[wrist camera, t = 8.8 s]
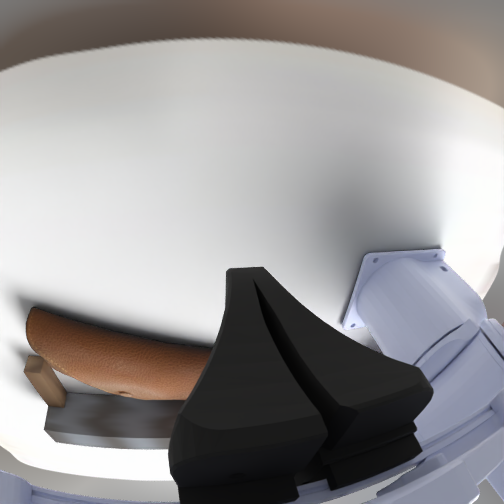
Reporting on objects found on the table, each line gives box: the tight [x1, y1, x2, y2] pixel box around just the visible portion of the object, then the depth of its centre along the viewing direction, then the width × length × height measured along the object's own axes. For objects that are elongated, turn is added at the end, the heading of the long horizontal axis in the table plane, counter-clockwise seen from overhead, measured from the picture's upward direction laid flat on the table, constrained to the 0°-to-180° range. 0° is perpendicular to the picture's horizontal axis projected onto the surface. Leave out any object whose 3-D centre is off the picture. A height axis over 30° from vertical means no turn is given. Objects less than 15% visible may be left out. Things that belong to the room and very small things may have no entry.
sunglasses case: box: [26, 307, 213, 400], centre depth 23 cm, size 18×7×7 cm
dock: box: [24, 356, 186, 449], centre depth 25 cm, size 27×9×5 cm, turn 86°
